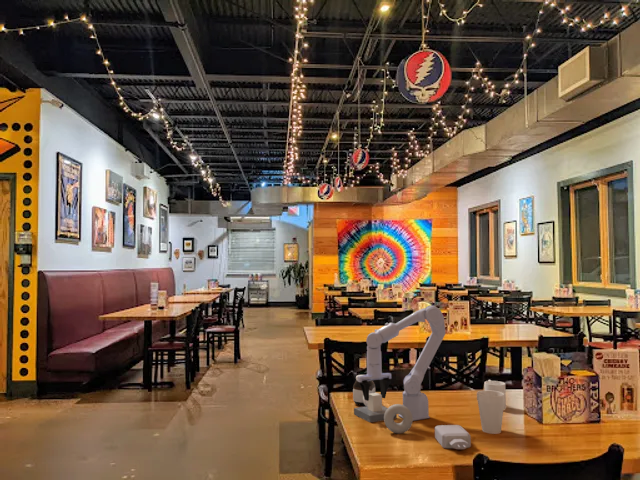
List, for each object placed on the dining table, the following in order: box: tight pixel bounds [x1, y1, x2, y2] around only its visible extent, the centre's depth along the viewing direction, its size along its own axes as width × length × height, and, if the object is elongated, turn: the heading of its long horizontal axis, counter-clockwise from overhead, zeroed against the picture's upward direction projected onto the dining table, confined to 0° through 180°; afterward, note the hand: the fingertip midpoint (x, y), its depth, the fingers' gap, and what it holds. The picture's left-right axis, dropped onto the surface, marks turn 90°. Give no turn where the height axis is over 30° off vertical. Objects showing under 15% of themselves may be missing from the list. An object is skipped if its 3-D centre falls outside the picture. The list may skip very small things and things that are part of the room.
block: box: [368, 392, 383, 412], centre depth 195 cm, size 4×4×6 cm
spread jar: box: [352, 374, 376, 407], centre depth 212 cm, size 12×11×12 cm
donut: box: [383, 403, 413, 435], centre depth 174 cm, size 10×4×10 cm, turn 82°
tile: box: [353, 405, 398, 423], centre depth 195 cm, size 12×12×2 cm
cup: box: [483, 379, 507, 411], centre depth 209 cm, size 8×12×10 cm
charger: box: [434, 424, 472, 450], centre depth 161 cm, size 5×9×15 cm
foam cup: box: [476, 389, 505, 435], centre depth 177 cm, size 10×9×13 cm
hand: (374, 398), depth 195 cm, fingers open, 7 cm apart
